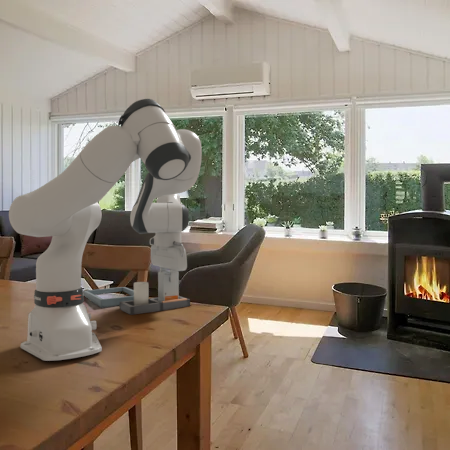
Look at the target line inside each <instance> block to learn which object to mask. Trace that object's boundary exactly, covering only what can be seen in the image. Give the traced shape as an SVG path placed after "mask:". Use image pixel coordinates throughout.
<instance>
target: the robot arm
mask: <svg viewBox="0 0 450 450" xmlns="http://www.w3.org/2000/svg"><path fill="white" fill-rule="evenodd" d="M202 150H203V149H202V141H201V139H200V138H199V136H198V135H197V134H196V133H195V132H194V131H191V130H190V129H186V128H185V129H184V128H182V129H181V128H180V129H177V128H176V126H175V125H174V123H173V122H172V121H171V119H170V117H169V116H168V115H167V113H166V111H165V109H164V108H163V107H162V106H161V105H160V104H159V102H157V101H156V100H154V99H152V98H142V99H138V100H135V101H134V102H133V103H132V104H130V105H128V107H127V108H126V109H125V111H124V112H123V114H121V116H120V117H119V120H118V122H117V125H109V126H107V127H105V128H104V129H102V130H101V131H100V132H99V133H97V134H96V135H95V136H94V137H93V138H92V139H90V141H89V142H88V143H87V144H86V145H85V146H84V147H83V148H82V150H81V151H80V152H79V153H78V154H77V155H76V157H75V158H74V159H73V161H71V163H70V164H69V165H68V166H67V167H66V168H65V169H64V170H63V171H62V172H61V173H60V174H59V175H57V176H55V177H54V178H53V179H51V180H50V181H48V182H46V183H45V184H43V185H42V186H40V187H39V188H37V189H34V190H32V191H30V192H28V193H25V194H22V195H19V196H17V197H16V198H14V199H13V201H12V202H11V204H10V206H9V209H8V219H9V223H10V225H11V227H12V229H13V230H14V231H15V232H16V233H17V234H20V235H24V236H28V237H34V238H42V237H43V238H44V237H46V238H47V237H52V238H51V240H50V244H49V246H48V247H47V249H46V250H45V251H43V253H41V254H40V255H39V256H38V257H37V259H36V262H35V280H36V281H35V284H36V286H35V288H36V289H35V290H34V292H33V293H34V294H33V299H34V300H33V301H34V302H33V303H34V304H35V305H34V307H33V308H32V310H31V311H30V312H29V313H28V315H27V318H28V319H27V338H26V341H23V342H21V343H20V349H21V350H24V351H26V352H27V353H29V354H31V355H33V356H34V357H36V358H38V359H40V360H41V361H47V362H48V361H49V362H50V361H54V362H55V361H62V360H71V359H77V358H81V357H82V358H83V357H86V356H90V355H94V354H97V353H100V352H102V351H103V350H102V348H103V347H102V345H101V343H100V341H99V339H98V337H97V334H96V333H95V332H92V331H93V330H94V331H95V330H97V326H98V325H97V321H96V320H91V319H92V313H89V312H88V310H87V307H88V306H86V305H85V304H84V302H85V299H84V298H85V297H84V293H83V291H84V288H83V287H82V264H83V263H82V262H83V254H84V251H85V248H86V245H87V242H88V241H89V238H90V236H91V235H92V234H93V233H94V231H95V230H96V229H97V228H98V227H99V226H100V224H101V221H102V217H103V215H102V208H101V205H100V204H99V202H100V201H101V200H102V199H103V198H104V197H105V196H106V195H107V194H108V193H109V191H110V190H111V189H112V188H113V187H114V186H115V185H116V183H118V181H120V179H121V178H122V177H123V176H124V174H125V173H126V171H127V170H128V169H129V167H130V166H131V164H132V163H133V162H136V161H137V160H139V159H140V160H141V162H143V164H144V167H145V169H146V170H147V172H148V173H147V174H146V175H145V178H143V179H144V180H143V182H142V185H141V187H140V190H139V192H138V195H137V197H136V201H135V202H134V205H133V207H132V208H131V211H130V214H129V217H130V218H129V219H130V220H129V221H130V226H131V228H132V229H133V230H134V231H135V232H136V233H138V234H139V235H144V234H145V235H146V234H155V235H154V236H153V237H151V238H150V239H149V245H151V246H150V261H151V264H152V265H153V267H154V266H155V267H159V272H160V271H168V270H169V271H170V272H171V275H170V277H169V282H171V283H175V282H176V275H177V273H178V271H179V272H183V271H186V270H187V268H188V260H187V259H188V258H187V257H188V256H187V251H186V248H185V245H184V244H183V243H182V232H184V231H185V230H186V229H187V228H188V227H189V225H190V224H189V214H190V213H189V211H190V209H188V208H187V207H188V206H187V207H186V205H185V204H183V203H182V202H181V197H180V195H179V194H182V193H184V192H187V191H189V190H190V189H191V188H192V187H194V185H195V184H196V183H197V180H198V178H199V175H200V170H201V165H202V159H203V158H202V155H203V154H202V152H203V151H202ZM155 199H156V202H154V200H155Z"/></svg>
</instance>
